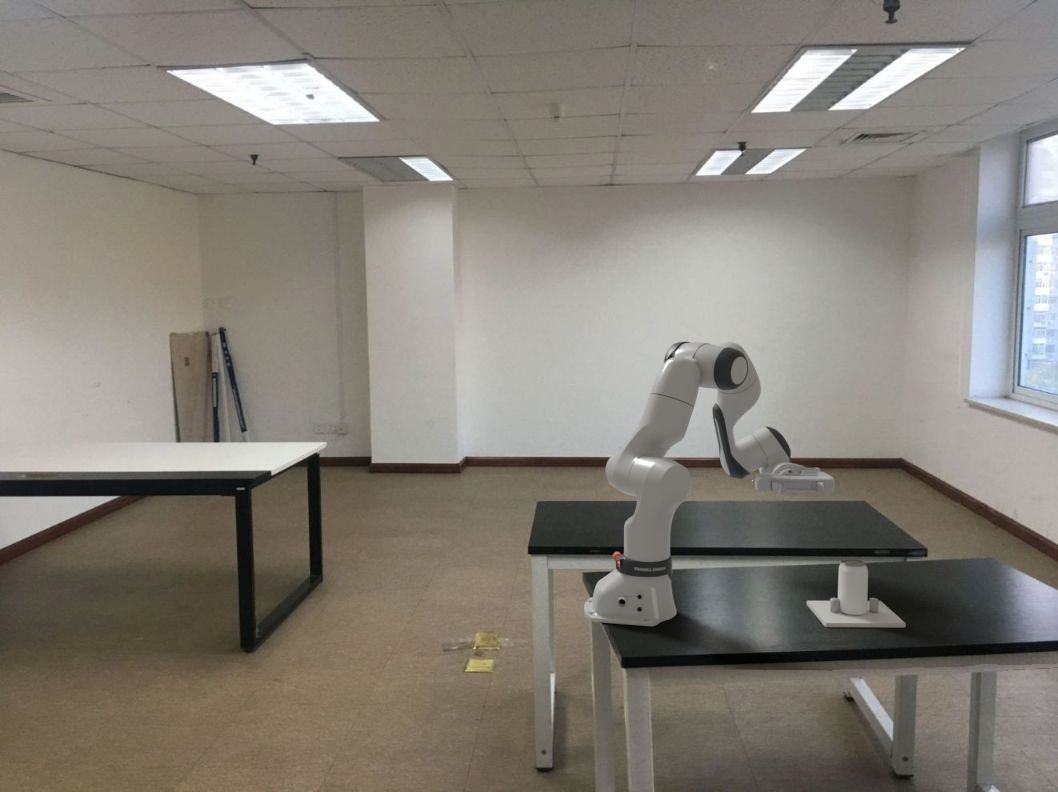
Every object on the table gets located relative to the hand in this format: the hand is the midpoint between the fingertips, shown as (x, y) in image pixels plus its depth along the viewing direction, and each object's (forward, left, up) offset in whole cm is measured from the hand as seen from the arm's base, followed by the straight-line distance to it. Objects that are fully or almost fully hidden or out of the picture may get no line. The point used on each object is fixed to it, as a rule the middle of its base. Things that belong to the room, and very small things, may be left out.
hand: (802, 489), depth 195 cm
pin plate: (+8, -15, -28) cm, 32 cm away
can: (+8, -15, -27) cm, 31 cm away
